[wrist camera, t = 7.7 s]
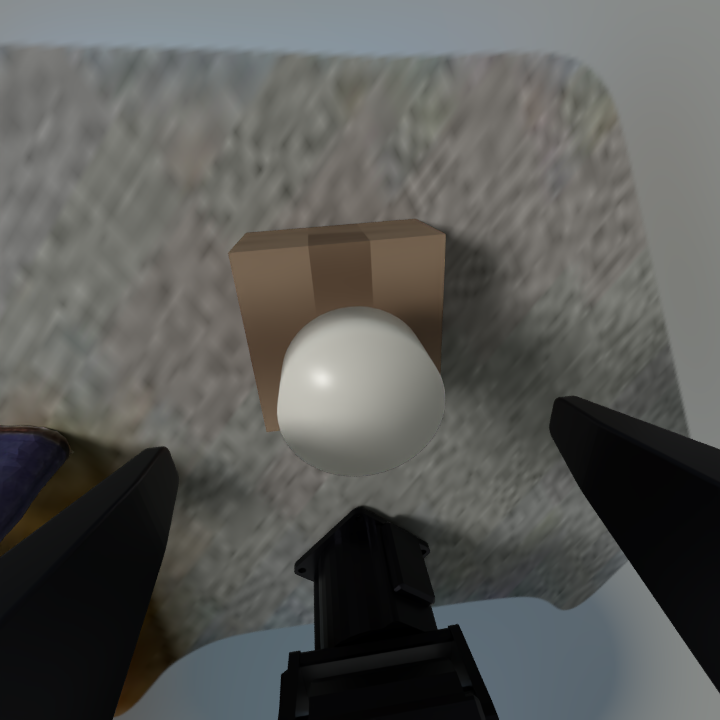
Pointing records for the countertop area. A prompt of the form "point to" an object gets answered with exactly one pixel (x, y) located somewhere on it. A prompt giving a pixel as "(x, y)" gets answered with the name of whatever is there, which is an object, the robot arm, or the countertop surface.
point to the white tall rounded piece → (358, 393)
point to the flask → (26, 468)
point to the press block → (334, 286)
